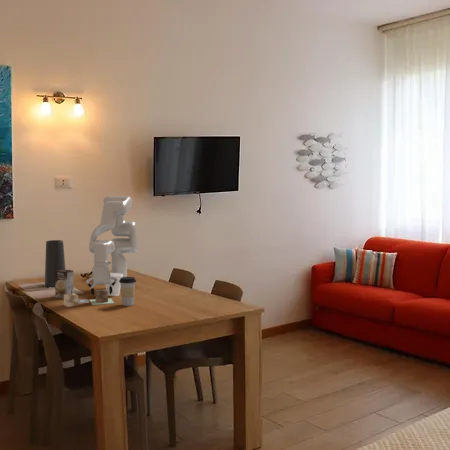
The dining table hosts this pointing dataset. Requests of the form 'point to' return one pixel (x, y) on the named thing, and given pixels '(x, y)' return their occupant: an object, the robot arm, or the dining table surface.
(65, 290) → the coffee box
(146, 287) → the dining table surface
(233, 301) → the dining table surface
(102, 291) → the walnut block
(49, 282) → the vase
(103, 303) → the mat
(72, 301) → the maple block
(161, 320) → the dining table surface
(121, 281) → the coffee cup
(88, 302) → the tile
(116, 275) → the cup
